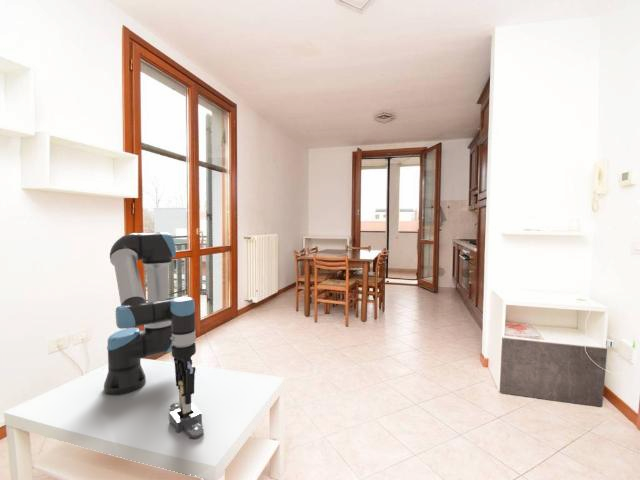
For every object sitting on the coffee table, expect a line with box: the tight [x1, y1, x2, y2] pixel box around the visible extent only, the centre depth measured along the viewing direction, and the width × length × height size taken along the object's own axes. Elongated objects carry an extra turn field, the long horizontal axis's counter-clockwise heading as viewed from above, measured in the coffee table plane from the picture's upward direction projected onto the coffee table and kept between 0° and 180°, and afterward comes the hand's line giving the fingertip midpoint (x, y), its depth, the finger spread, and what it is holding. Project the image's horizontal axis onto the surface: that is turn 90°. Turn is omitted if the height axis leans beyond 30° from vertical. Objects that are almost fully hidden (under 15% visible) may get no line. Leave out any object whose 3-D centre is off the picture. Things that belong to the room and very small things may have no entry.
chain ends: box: [168, 401, 205, 440], centre depth 111 cm, size 22×8×4 cm, turn 43°
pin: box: [178, 379, 190, 418], centre depth 111 cm, size 4×4×13 cm
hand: (185, 409), depth 111 cm, fingers closed on pin, 2 cm apart
